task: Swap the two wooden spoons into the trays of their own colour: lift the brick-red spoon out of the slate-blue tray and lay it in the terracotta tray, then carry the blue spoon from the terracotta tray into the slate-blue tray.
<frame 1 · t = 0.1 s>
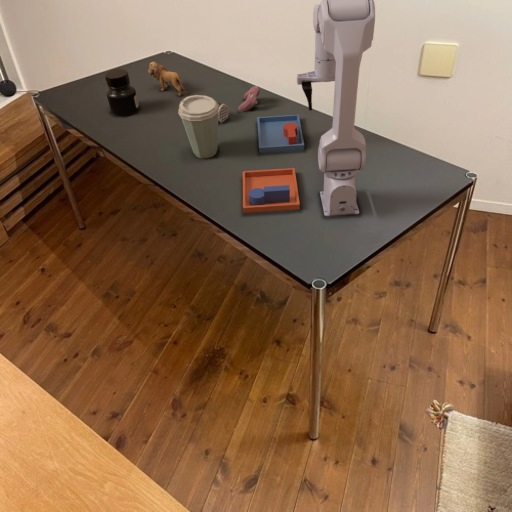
hand: (324, 107, 134), 10 cm above the table, tool pointing down, fingers open, 7 cm apart
terracotta tray: (270, 194, 124), on the table
blue spoon: (277, 200, 121), point 1 cm above the table, touching terracotta tray
lion figurine: (169, 91, 171), on the table
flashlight: (205, 117, 156), on the table
red spoon: (291, 142, 140), point 1 cm above the table, touching blue tray
ink bottle: (125, 110, 162), on the table
disposable coffee cup: (205, 153, 140), on the table
blue tray: (279, 136, 144), on the table
pink shoe: (250, 106, 159), on the table
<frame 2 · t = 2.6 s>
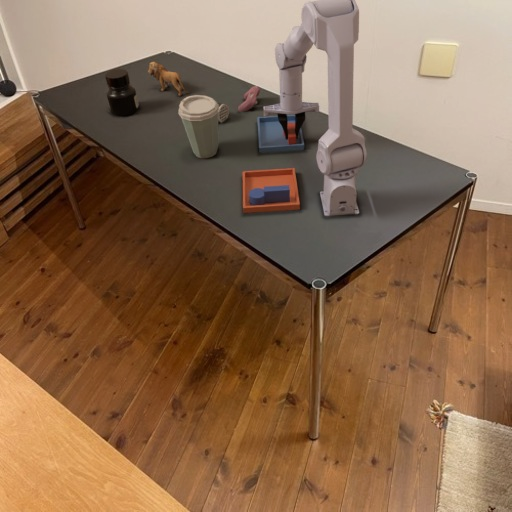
hand: (291, 137, 139), 2 cm above the table, tool pointing down, fingers closed on red spoon, 2 cm apart
red spoon: (291, 142, 140), point 1 cm above the table, touching blue tray, gripper
everything else where it was.
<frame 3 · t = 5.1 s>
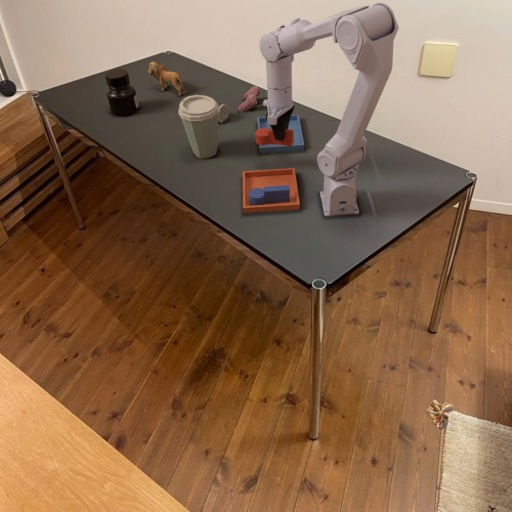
hand: (281, 137, 126), 9 cm above the table, tool pointing down, fingers closed on red spoon
red spoon: (281, 143, 127), point 8 cm above the table, touching gripper
everything else where it was.
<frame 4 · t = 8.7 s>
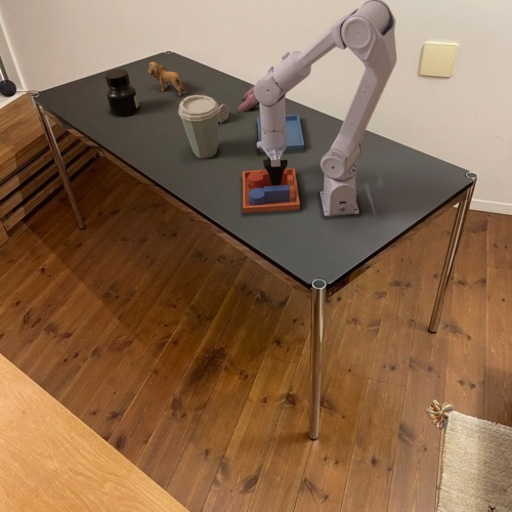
hand: (275, 175, 125), 3 cm above the table, tool pointing down, fingers open, 7 cm apart
red spoon: (275, 183, 127), point 1 cm above the table, touching terracotta tray
everything else where it was.
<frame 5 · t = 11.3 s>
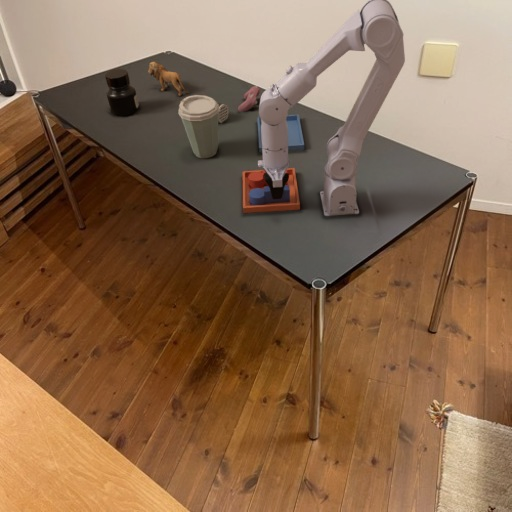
hand: (276, 194, 120), 2 cm above the table, tool pointing down, fingers closed on blue spoon, 2 cm apart
blue spoon: (277, 200, 121), point 1 cm above the table, touching gripper, terracotta tray
everything else where it was.
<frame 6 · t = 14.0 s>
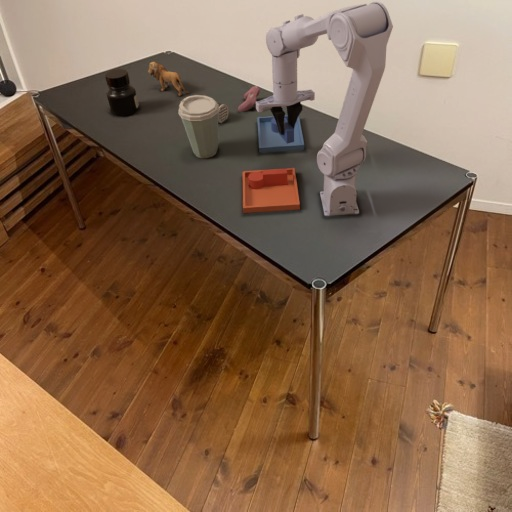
hand: (286, 131, 127), 9 cm above the table, tool pointing down, fingers closed on blue spoon
blue spoon: (285, 137, 129), point 8 cm above the table, touching gripper
everything else where it was.
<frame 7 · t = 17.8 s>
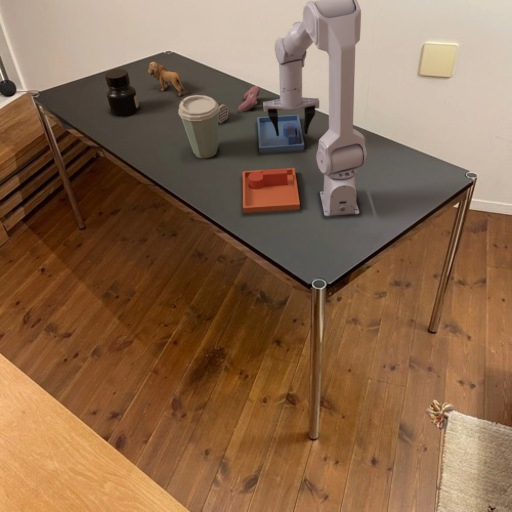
hand: (291, 133, 138), 3 cm above the table, tool pointing down, fingers open, 7 cm apart
blue spoon: (291, 142, 140), point 1 cm above the table, touching blue tray
everything else where it was.
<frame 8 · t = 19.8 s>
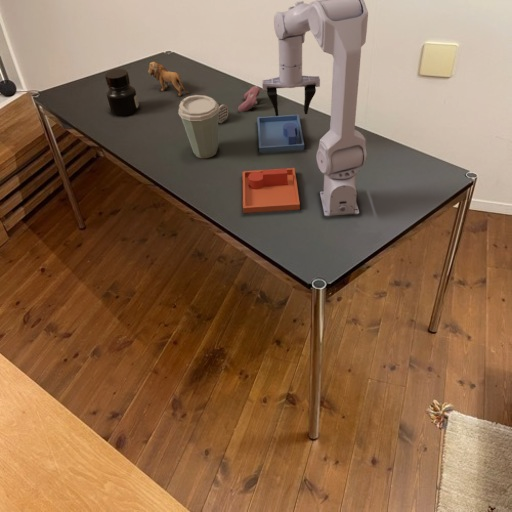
hand: (291, 113, 134), 9 cm above the table, tool pointing down, fingers open, 7 cm apart
nothing on the table moved.
at the end: red spoon inside the target area in the terracotta tray (3.8 cm from its centre), point 0.6 cm above the terracotta tray's base; blue spoon inside the target area in the blue tray (5.3 cm from its centre), point 0.6 cm above the blue tray's base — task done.
